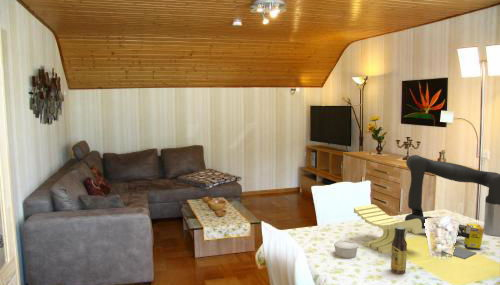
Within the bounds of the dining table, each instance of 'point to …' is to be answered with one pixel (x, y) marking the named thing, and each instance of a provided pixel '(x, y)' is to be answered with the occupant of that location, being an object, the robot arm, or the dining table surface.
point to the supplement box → (474, 236)
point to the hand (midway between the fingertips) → (473, 234)
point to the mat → (462, 253)
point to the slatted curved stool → (385, 226)
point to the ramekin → (346, 249)
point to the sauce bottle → (399, 251)
